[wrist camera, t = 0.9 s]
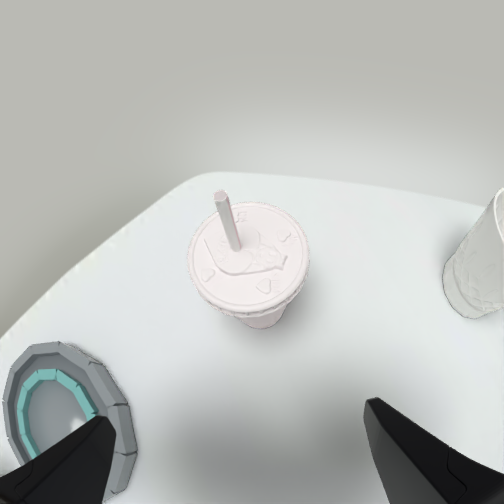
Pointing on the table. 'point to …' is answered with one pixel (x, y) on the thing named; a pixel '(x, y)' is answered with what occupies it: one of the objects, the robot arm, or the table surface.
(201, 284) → the smoothie
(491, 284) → the white cup
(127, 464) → the tray
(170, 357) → the table surface
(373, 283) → the table surface
